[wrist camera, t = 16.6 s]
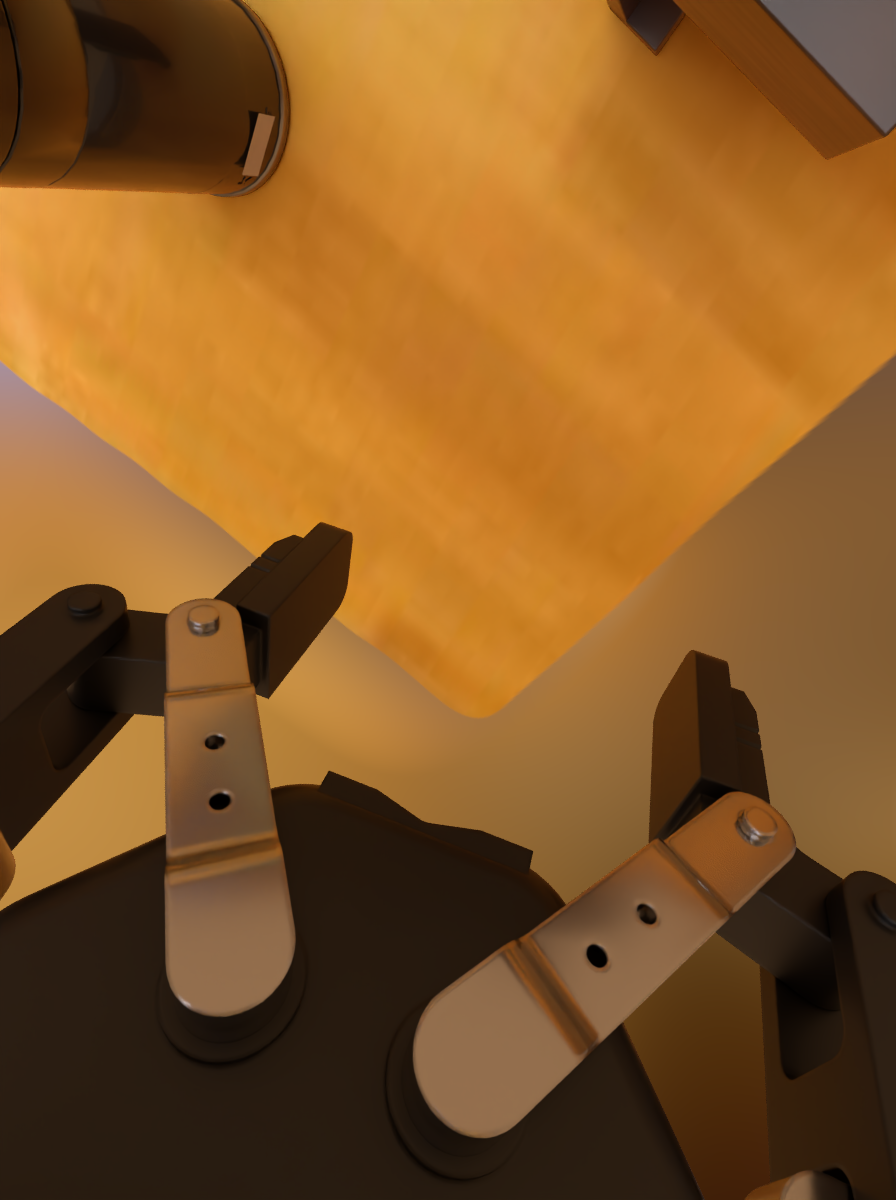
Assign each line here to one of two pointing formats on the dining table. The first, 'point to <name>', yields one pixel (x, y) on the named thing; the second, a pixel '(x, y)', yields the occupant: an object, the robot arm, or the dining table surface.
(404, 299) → the dining table surface
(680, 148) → the dining table surface
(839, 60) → the drawer unit
